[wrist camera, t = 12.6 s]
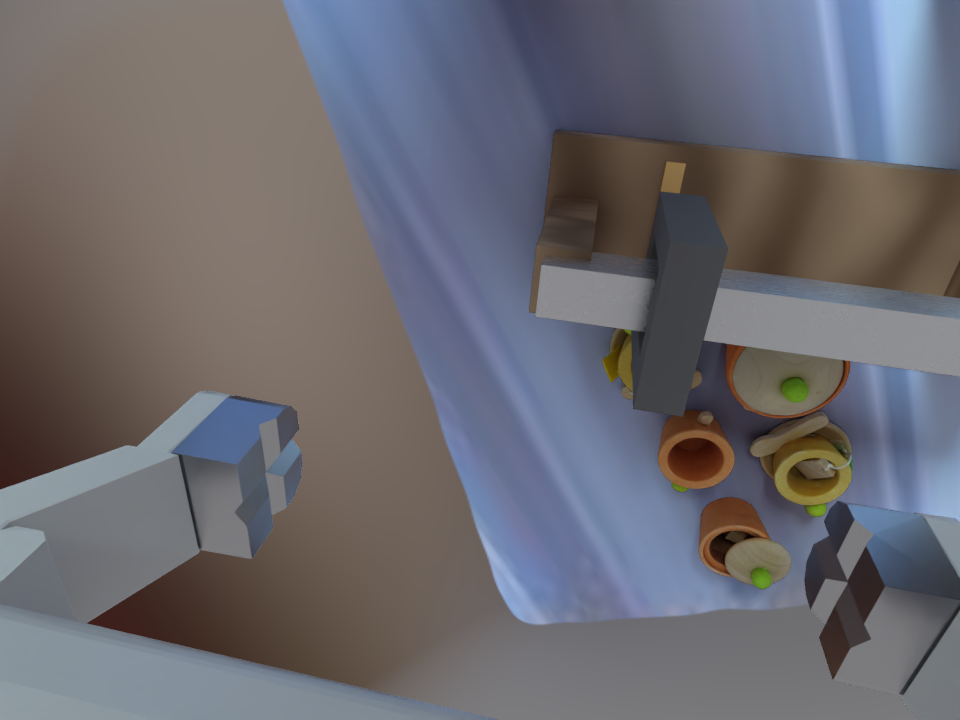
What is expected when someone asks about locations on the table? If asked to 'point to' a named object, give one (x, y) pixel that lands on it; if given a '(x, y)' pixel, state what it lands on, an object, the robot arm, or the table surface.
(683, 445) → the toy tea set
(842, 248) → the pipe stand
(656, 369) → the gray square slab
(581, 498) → the table surface
